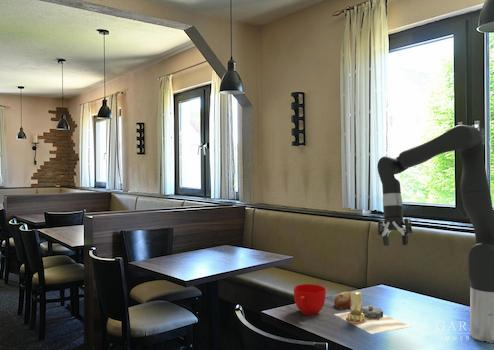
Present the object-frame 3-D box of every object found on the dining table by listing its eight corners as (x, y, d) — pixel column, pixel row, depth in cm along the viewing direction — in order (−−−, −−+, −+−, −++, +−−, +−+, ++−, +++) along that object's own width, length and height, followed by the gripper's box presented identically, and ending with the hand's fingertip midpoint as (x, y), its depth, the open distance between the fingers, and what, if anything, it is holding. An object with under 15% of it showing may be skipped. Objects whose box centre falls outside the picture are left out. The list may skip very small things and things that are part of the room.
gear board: (410, 330, 158) (411, 317, 158) (371, 338, 151) (371, 324, 151) (370, 312, 179) (370, 300, 178) (334, 318, 171) (334, 305, 171)
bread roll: (345, 310, 192) (338, 292, 194) (365, 304, 186) (358, 286, 188) (334, 316, 184) (327, 297, 186) (355, 310, 178) (347, 291, 180)
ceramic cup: (284, 317, 171) (285, 292, 171) (300, 305, 186) (300, 282, 186) (316, 323, 165) (316, 297, 165) (329, 310, 180) (330, 286, 180)
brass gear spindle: (367, 320, 164) (368, 294, 163) (354, 323, 161) (354, 296, 161) (357, 315, 169) (357, 290, 169) (344, 317, 167) (344, 291, 167)
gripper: (372, 206, 181) (375, 246, 178) (402, 203, 170) (405, 245, 167) (383, 207, 185) (386, 245, 182) (413, 204, 174) (417, 245, 171)
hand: (395, 245), depth 175 cm, fingers open, 8 cm apart
